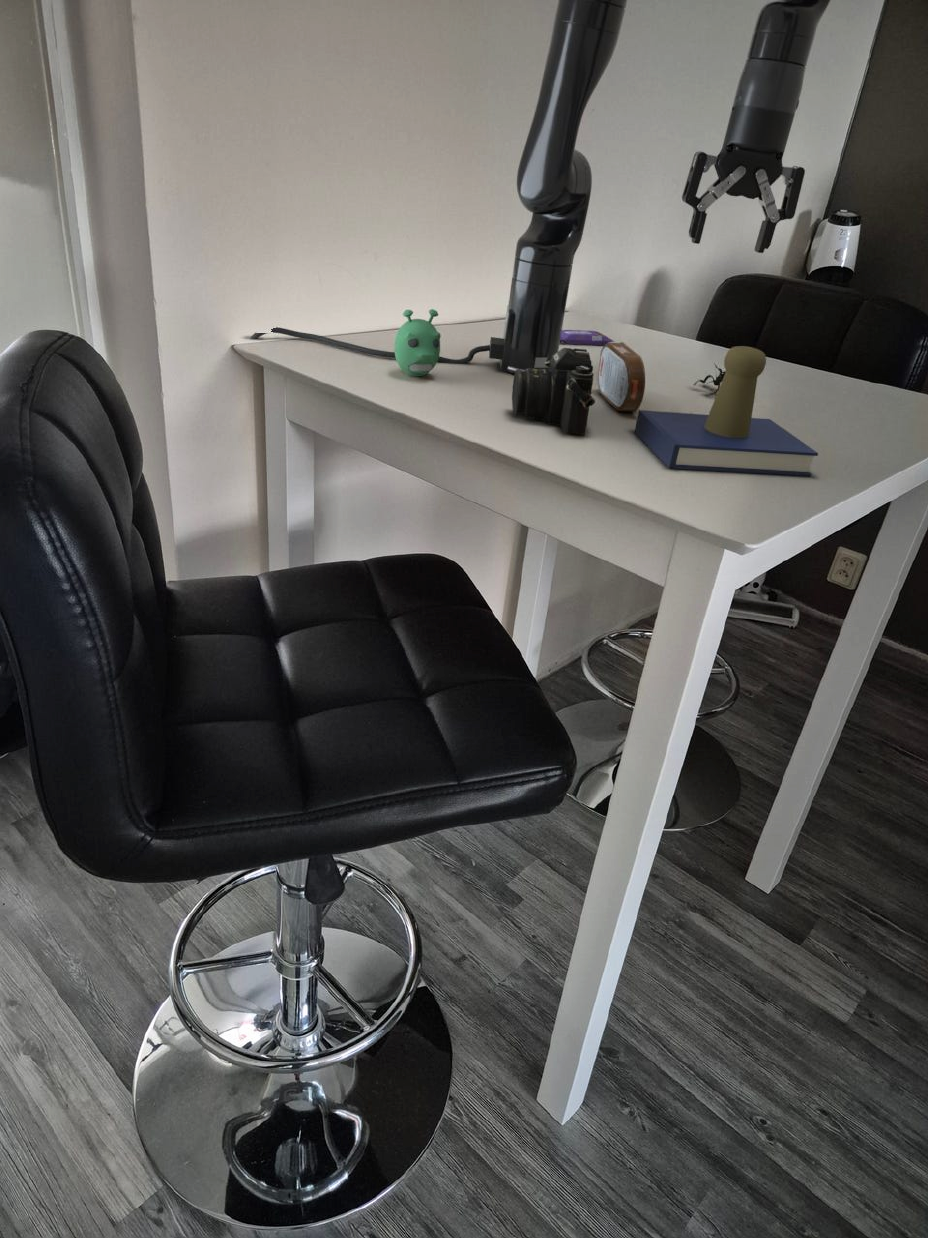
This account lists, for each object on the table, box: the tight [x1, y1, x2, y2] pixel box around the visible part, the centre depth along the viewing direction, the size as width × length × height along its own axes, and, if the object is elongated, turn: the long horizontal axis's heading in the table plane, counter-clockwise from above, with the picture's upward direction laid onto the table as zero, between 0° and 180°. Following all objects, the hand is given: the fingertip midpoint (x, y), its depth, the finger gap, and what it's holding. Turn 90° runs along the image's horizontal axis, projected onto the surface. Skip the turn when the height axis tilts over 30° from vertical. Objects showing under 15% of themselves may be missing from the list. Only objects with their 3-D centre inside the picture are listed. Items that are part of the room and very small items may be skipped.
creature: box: [693, 362, 726, 397], centre depth 148 cm, size 8×5×8 cm
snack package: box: [560, 329, 616, 346], centre depth 171 cm, size 12×2×5 cm
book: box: [633, 409, 819, 477], centre depth 119 cm, size 20×14×3 cm
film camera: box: [511, 347, 596, 436], centre depth 123 cm, size 18×12×10 cm
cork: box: [704, 345, 767, 438], centre depth 116 cm, size 6×6×11 cm
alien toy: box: [394, 308, 442, 377], centre depth 134 cm, size 7×8×10 cm
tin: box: [597, 341, 646, 413], centre depth 134 cm, size 15×3×8 cm, turn 9°
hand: (726, 247), depth 116 cm, fingers open, 8 cm apart
